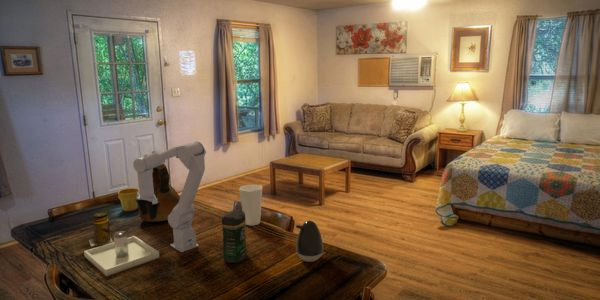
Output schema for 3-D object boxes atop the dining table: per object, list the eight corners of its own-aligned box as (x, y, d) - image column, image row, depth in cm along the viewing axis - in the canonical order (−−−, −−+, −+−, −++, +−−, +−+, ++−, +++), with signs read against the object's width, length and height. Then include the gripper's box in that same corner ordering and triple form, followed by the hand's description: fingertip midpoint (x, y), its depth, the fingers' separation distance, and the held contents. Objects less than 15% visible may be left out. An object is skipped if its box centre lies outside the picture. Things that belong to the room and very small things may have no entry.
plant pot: (144, 208, 217) (142, 190, 215) (125, 213, 209) (123, 195, 207) (135, 204, 224) (133, 186, 222) (116, 209, 216) (114, 191, 214)
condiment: (113, 241, 176) (110, 215, 174) (91, 246, 172) (87, 219, 169) (110, 236, 182) (107, 210, 180) (88, 240, 178) (85, 214, 175)
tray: (159, 257, 161) (158, 251, 161) (106, 276, 147) (105, 269, 147) (135, 241, 176) (134, 235, 176) (84, 257, 163) (84, 251, 162)
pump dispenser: (291, 255, 161) (291, 218, 158) (316, 251, 165) (316, 214, 161) (301, 267, 152) (301, 228, 148) (327, 262, 155) (327, 223, 152)
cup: (268, 221, 196) (267, 186, 193) (255, 228, 188) (253, 192, 184) (250, 217, 202) (248, 183, 199) (236, 224, 194) (234, 188, 190)
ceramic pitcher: (165, 209, 215) (160, 152, 209) (191, 217, 203) (186, 157, 197) (131, 221, 199) (124, 160, 193) (156, 230, 188) (150, 165, 182)
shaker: (131, 254, 162) (129, 232, 160) (120, 259, 159) (117, 237, 157) (124, 251, 165) (122, 230, 163) (113, 255, 161) (110, 234, 160)
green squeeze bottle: (239, 265, 154) (237, 217, 150) (220, 262, 156) (217, 215, 152) (250, 254, 163) (248, 208, 159) (232, 251, 165) (229, 207, 161)
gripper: (128, 184, 175) (132, 214, 178) (144, 191, 165) (147, 223, 168) (145, 180, 180) (147, 210, 183) (161, 187, 170) (163, 218, 173)
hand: (148, 216), depth 176 cm, fingers open, 7 cm apart
